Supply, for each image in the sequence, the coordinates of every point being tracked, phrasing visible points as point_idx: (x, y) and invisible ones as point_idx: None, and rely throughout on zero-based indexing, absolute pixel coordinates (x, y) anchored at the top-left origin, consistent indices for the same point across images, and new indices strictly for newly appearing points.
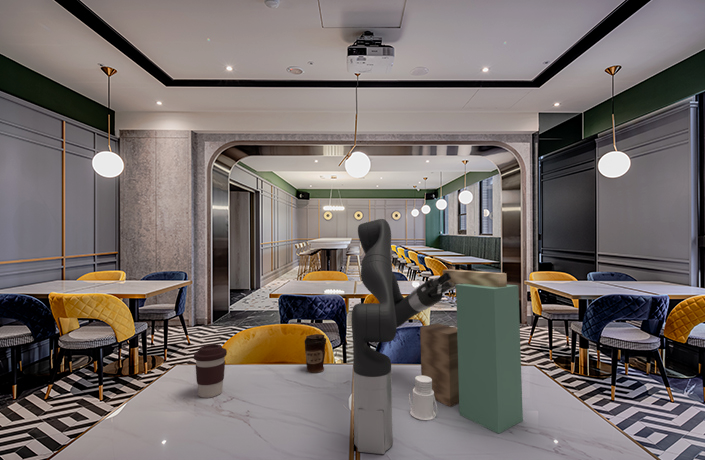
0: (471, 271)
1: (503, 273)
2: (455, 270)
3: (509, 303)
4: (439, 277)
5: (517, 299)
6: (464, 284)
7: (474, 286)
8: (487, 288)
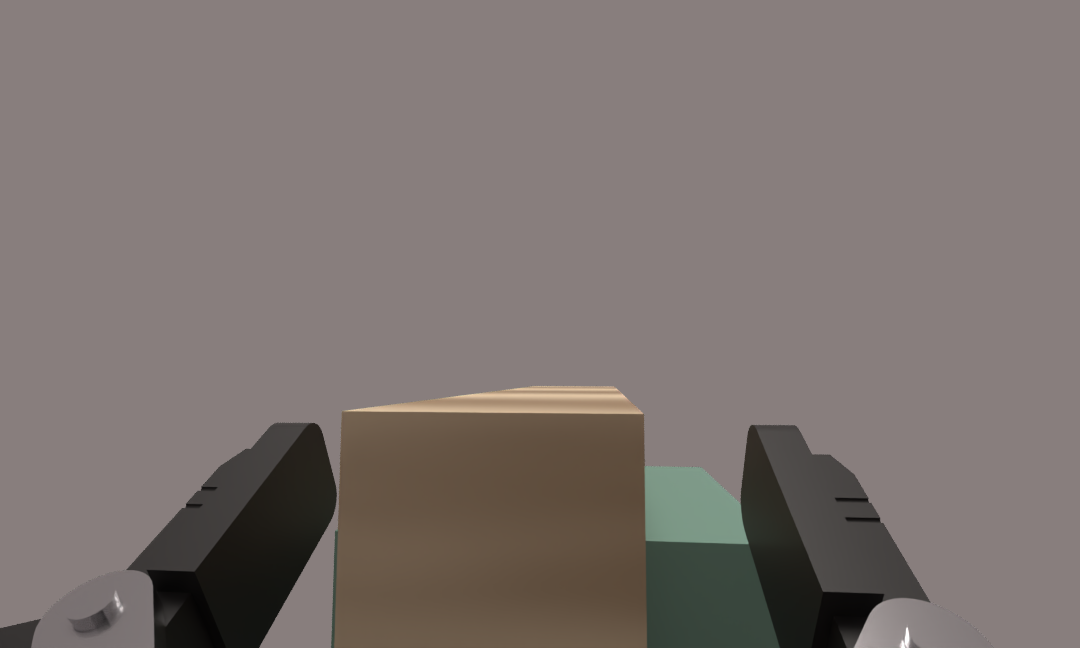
0: (550, 392)
1: (561, 386)
2: (539, 400)
3: None
4: (868, 577)
5: None
6: (678, 530)
7: (712, 496)
8: (708, 476)
